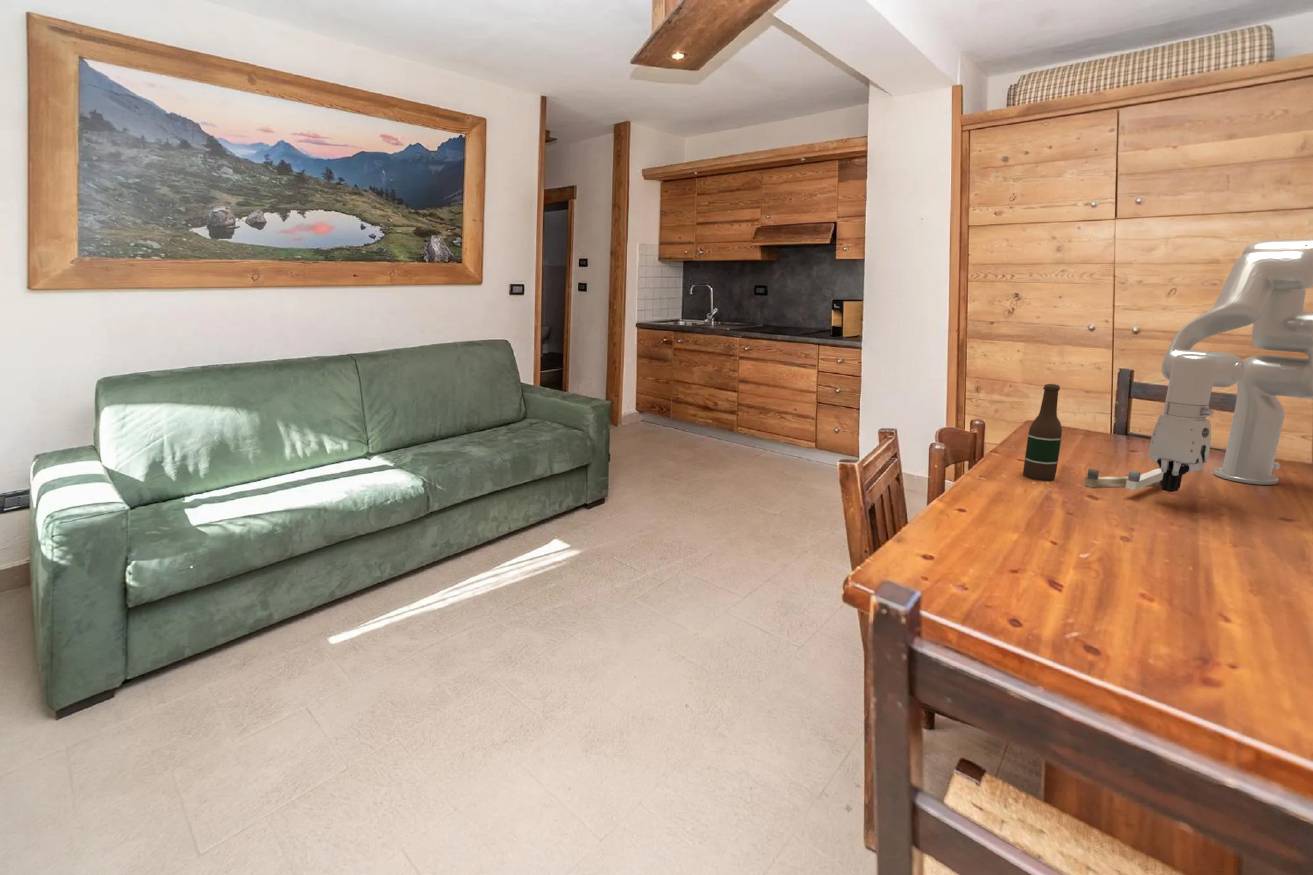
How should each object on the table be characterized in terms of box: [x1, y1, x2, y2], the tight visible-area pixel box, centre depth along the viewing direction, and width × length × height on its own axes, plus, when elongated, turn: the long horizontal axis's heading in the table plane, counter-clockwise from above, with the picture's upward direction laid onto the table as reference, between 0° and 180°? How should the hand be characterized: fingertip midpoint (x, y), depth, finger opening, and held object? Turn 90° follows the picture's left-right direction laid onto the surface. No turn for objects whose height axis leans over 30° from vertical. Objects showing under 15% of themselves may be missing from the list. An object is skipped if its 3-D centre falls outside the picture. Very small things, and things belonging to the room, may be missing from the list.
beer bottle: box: [1022, 383, 1063, 482], centre depth 170 cm, size 8×8×24 cm
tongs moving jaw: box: [1125, 467, 1163, 491], centre depth 160 cm, size 18×2×4 cm, turn 124°
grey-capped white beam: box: [1084, 465, 1162, 488], centre depth 166 cm, size 22×3×6 cm, turn 95°
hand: (1169, 490), depth 151 cm, fingers closed
